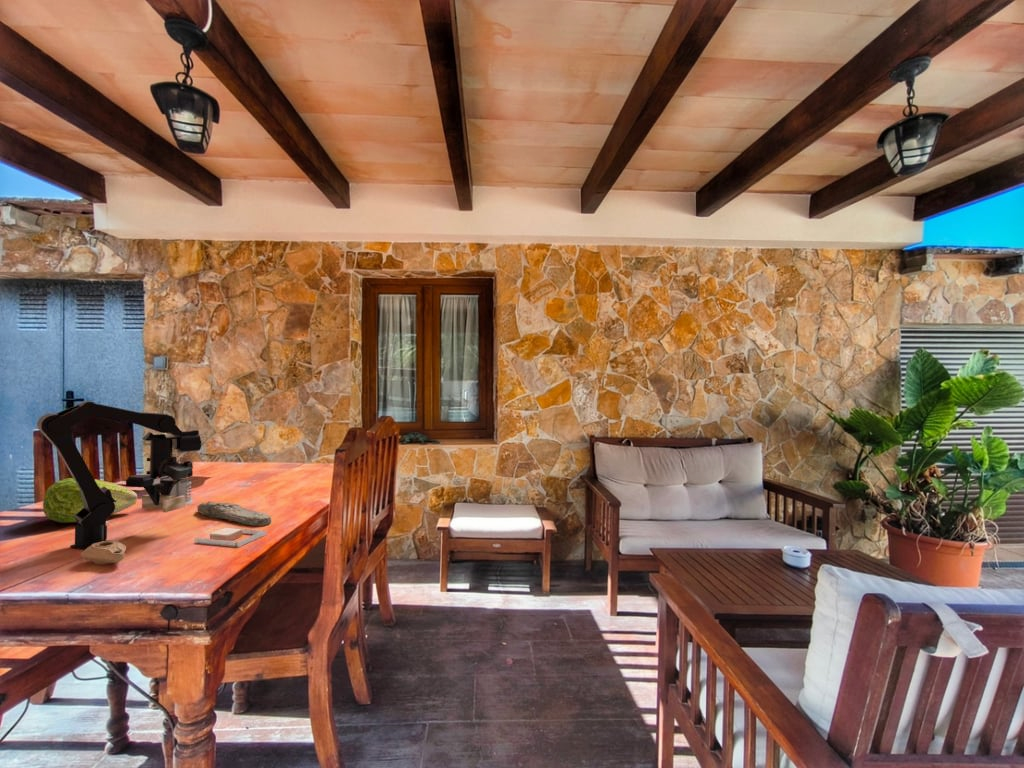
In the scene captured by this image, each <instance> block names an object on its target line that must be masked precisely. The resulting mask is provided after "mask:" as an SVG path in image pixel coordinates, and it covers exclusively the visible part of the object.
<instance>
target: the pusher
mask: <svg viewBox="0 0 1024 768" xmlns="http://www.w3.org/2000/svg"><path fill="white" fill-rule="evenodd" d="M183 508H186V505H185V496H179V497H176V496H174V495H161V494H160V499H159V505H154V503H153V501H152V499H151V498H150V496H149V494H148V493H147V494H143V495H141V509H142V510H158V511H160V510H161V511H162V513H168V512H172V511H175V510H180V509H183Z"/></svg>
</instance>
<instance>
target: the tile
mask: <svg viewBox="0 0 1024 768" xmlns="http://www.w3.org/2000/svg"><path fill="white" fill-rule="evenodd" d="M235 528H236V527H230V528H225V527H223V528H221V529H218V530H216V531H212V532H210V533H209V539H215V540H226V541H235V540H236V539H238V538H241V537H243V534H242V529H243V528H241V529H235Z"/></svg>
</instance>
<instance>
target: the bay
mask: <svg viewBox="0 0 1024 768" xmlns="http://www.w3.org/2000/svg"><path fill="white" fill-rule="evenodd" d="M224 528H231V526H230V527H229V526H228V527H227V526H225V527H224ZM234 528H235V529H242V535H243V534H245V535H250V536H248V537H245V538H243V539H241V540H238V541H236V540H232V541H226V540H215V539H210V538H204V537H203V538H202V537H196V538H194V543H195V544H201V545H213V546H222V547H232V548H240V547H242V546H244V545H246V544H249V543H251V542H253V541H255V540H258V539H260V538H262V537H264V536H267V530H265V529H264V530H263V529H251V528H249V529H248V528H239V527H234Z"/></svg>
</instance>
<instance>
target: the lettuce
mask: <svg viewBox="0 0 1024 768" xmlns="http://www.w3.org/2000/svg"><path fill="white" fill-rule="evenodd" d="M94 480H95V481H96V483H97V485H98V486H99V487H100V488H102V487H106V488H108V489H109V490H110V492H111V495H112V497H113V499H114V500H116V502H114V504H115V510H114V512H113V513H112V514H111V515H110V516H112V515H115V514H117V513H120V512H122V511H124V510H126V509H128V508H130V507H132V506H134V505H136V503H137V502H138V501H137V500H138V493H137V492H134V491H133V490H132V489H130V488H128V487H127V486H122V485H121V484H117V483H115V482H110V481H107V480H106V481H105V480H101V479H97V478H94ZM42 501H43V502H42V507H43V508H42V509H43V514H44V515H45V516H46V517H47V518H48V519H49V520H51V521H54V522H57V523H60V524H68V523H69V524H70V523H71V524H72V523H73V524H74V523H77V524H78V522H77V521H76V519H75V517H74V516H75V515H76V514H77V513H78V512H79V511H80V510H81V509H82V508H84V505H83V502H82V497H81V492H80V489H79V487H78V486H77V484H76V482H75V480H74V479H73V477H68V478H64V479H61V480H58V481H55V482H54V483H52V484H51V485H50V486H49V487H48V488H47V489H46V491H45V493H44V496H43V500H42Z"/></svg>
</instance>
